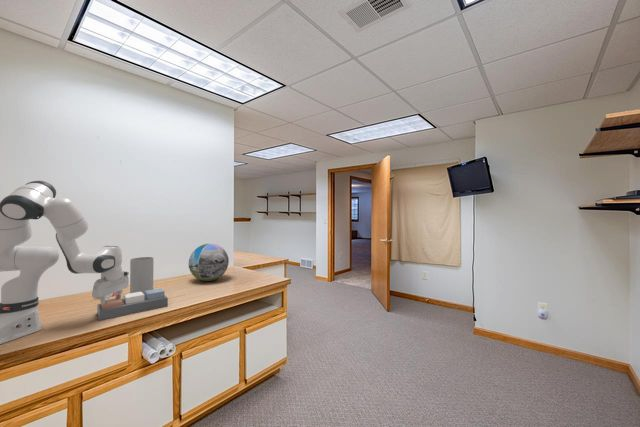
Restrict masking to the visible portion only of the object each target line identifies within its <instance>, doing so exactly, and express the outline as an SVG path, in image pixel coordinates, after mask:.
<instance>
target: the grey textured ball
mask: <svg viewBox="0 0 640 427" xmlns="http://www.w3.org/2000/svg"><path fill="white" fill-rule="evenodd" d="M229 260H230V259H229V255H228V252H227V251H226V250H225V249H224V248H223V247H222V246H220V245H218V244H215V243H205V244H202V245H200V246H198V247H196V248H195V249H194V250H193V251H192V252H191V254H190V256H189V259H188V268H189V271H190V273H191V275H192V276H193V277H194V278H196V279H197V280H200V281H202V282H203V281H204V282H211V281H216V280H217V279H219V278H221V277H222V276H223V275H224V274H225V273H226V271H227V270H228V266H229V262H230V261H229Z"/></svg>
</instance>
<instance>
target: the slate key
mask: <svg viewBox="0 0 640 427" xmlns="http://www.w3.org/2000/svg"><path fill="white" fill-rule="evenodd" d="M164 295H165V290H164V289H163V288H161V287H160V288H153V290H147V291H145V299H146V300H147V301H148V300H153V299H158V298H163V297H164Z"/></svg>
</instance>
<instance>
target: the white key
mask: <svg viewBox="0 0 640 427" xmlns="http://www.w3.org/2000/svg"><path fill="white" fill-rule="evenodd" d="M123 300H124V303H125V305H127V304H132V303H137V302H142V301H144V294H143V293H142V292H135V293H130V292H129V293H124V294H123Z"/></svg>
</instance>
